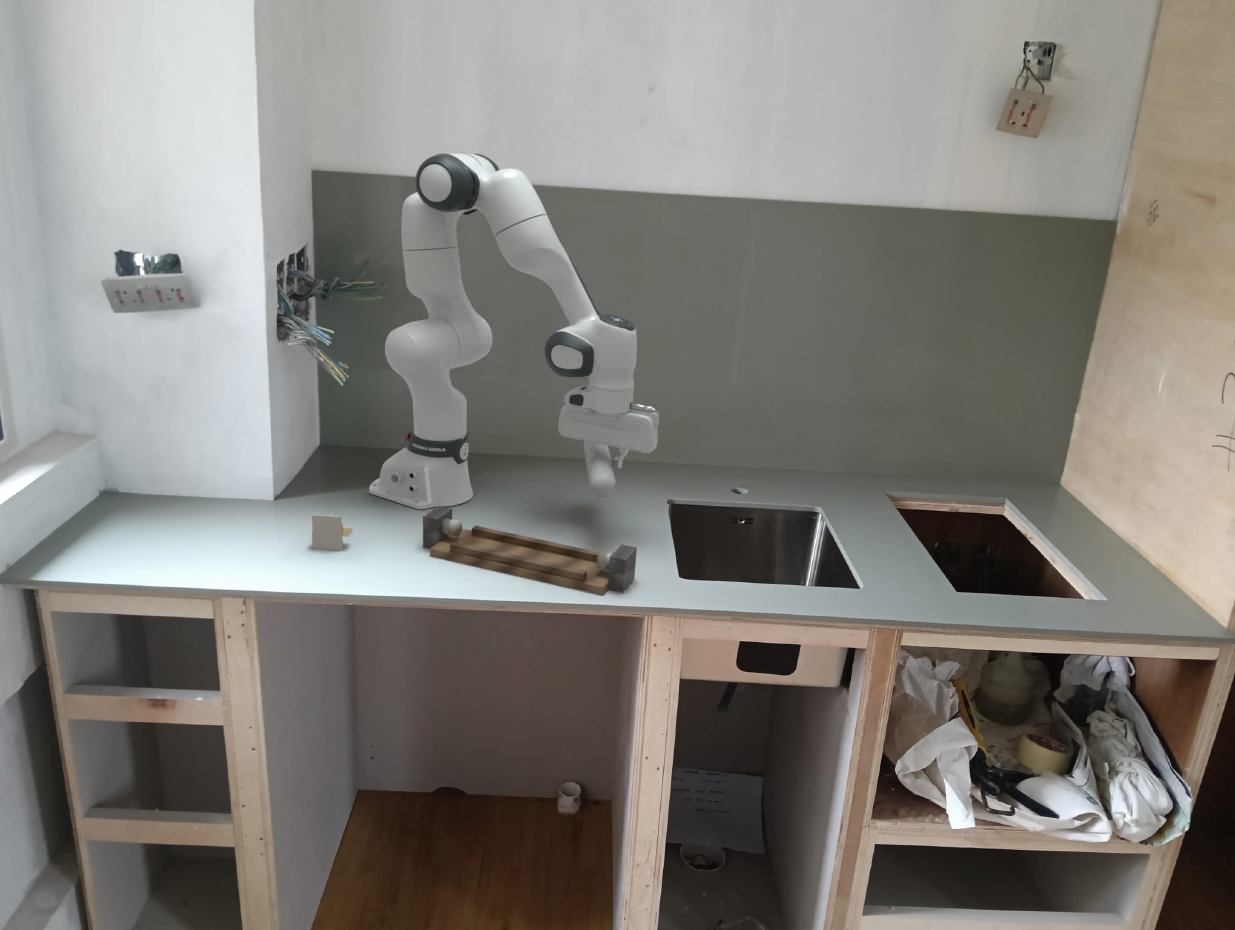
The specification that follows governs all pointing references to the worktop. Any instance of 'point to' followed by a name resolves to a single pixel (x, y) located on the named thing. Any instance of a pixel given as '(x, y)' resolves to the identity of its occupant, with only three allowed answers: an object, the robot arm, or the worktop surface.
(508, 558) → the shaft bed
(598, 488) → the tube
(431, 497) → the robot arm
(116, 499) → the worktop surface
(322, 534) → the architectural model
